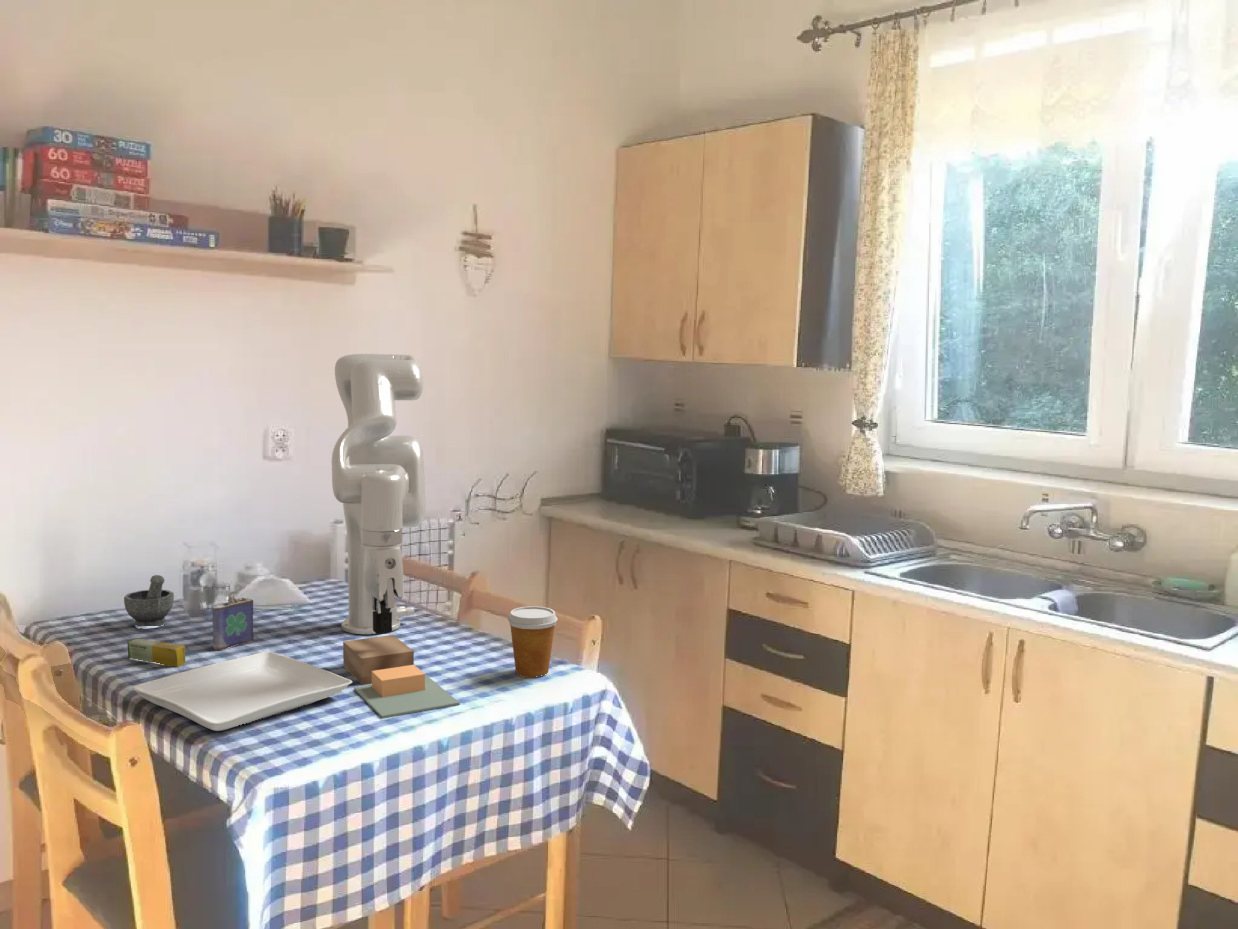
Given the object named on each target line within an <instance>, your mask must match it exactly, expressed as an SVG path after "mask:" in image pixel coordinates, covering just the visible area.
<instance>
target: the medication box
mask: <svg viewBox="0 0 1238 929" xmlns="http://www.w3.org/2000/svg"><path fill="white" fill-rule="evenodd" d="M126 643H127V644H126V645H127V655H128V659H129V658H133V659H138V660H143V661H148V662H156V663H160V664H164V665H169V666H168V667H171V666H175V667H174V668H179V667H181V666H180V665H182V664H184V663H186V646H185V645H184V644H183V645H181V644H176V643H169V642H164V641H157V640H155V641H154V640H149V639H142V638H137V637H136V638H133V639H131V640H129V641H127V642H126ZM164 665H163V666H164ZM184 665H185V664H184ZM178 666H179V667H178ZM182 666H183V665H182Z"/></svg>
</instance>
